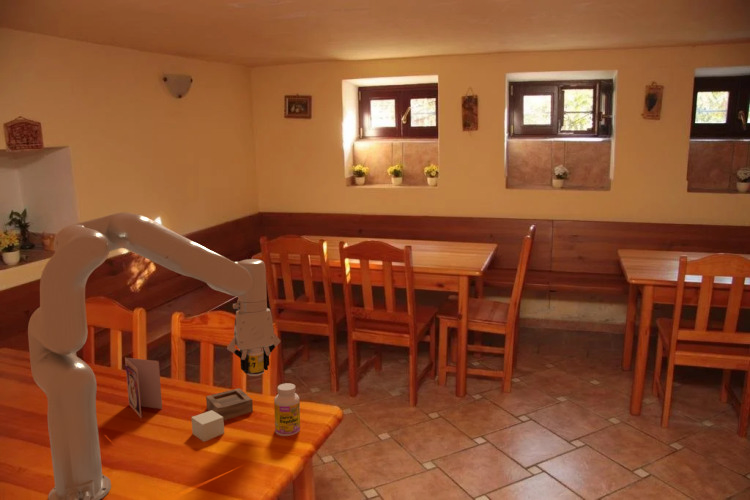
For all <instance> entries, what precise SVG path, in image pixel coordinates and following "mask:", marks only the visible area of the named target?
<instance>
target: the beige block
mask: <svg viewBox="0 0 750 500" xmlns="http://www.w3.org/2000/svg"><path fill="white" fill-rule="evenodd" d="M224 422H225V420H224V419H223V417H222V416H221V415H219V414H218V413H216V412H214V411H213V410H211V411H209V410H207V411H205V412H203V413H199V414H197V415H193V416H191V431H192V433H191V434H192V435H193V436H195V437H196V438H198V439H199V440H200V441H202V442H203V443H204V442H207V441H210V440H212V439H214V438H216V437H218V436H221V435H224V434H225V423H224Z"/></svg>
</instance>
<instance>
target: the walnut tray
mask: <svg viewBox="0 0 750 500" xmlns="http://www.w3.org/2000/svg"><path fill="white" fill-rule="evenodd" d="M205 399H206V409H207V411H211V410H213V411H214V412H216V413H218V414H219V415H221V416H222V417H223V419H224V421H227V420H231V419H233V418H236V417H240V416H243V415H247V414H250V413H253V412H254V409H253V399H252V398H251V396H249V395H248V394H246V393H245V392H244V391H243V390H242V388H241V387H239V388H238V387H237V388H235V389H230V390H227V391H226V390H225V391H223V392H218V393H214V394H210V395H207V396H205Z"/></svg>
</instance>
